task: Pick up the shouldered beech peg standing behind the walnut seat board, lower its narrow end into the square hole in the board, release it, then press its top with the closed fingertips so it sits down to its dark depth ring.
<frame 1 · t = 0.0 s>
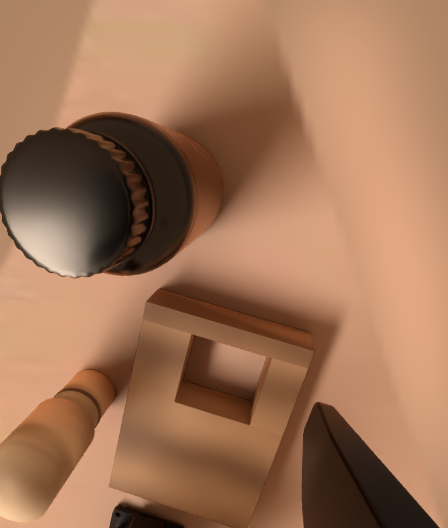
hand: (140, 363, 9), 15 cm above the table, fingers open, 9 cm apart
peg: (93, 389, 27), on the table
board: (206, 403, 26), on the table
supplement bottle: (172, 188, 22), on the table
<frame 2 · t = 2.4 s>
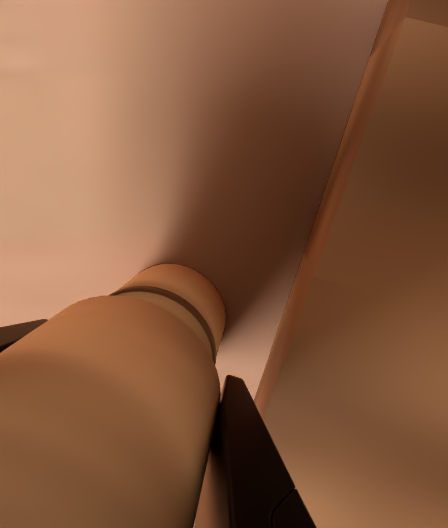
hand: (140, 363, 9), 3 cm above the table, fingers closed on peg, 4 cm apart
peg: (172, 314, 12), on the table, touching gripper
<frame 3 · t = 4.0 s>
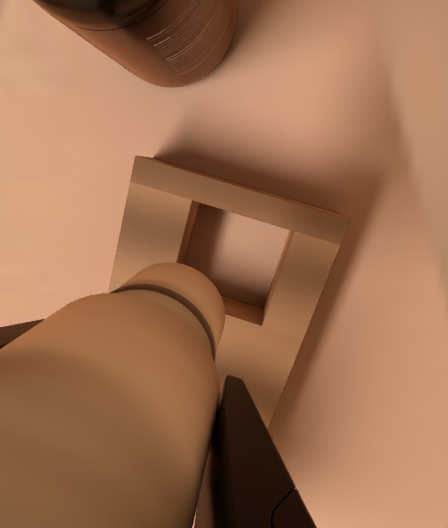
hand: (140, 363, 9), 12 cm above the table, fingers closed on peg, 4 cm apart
peg: (172, 313, 12), point 9 cm above the table, touching gripper
board: (207, 311, 21), on the table
supplement bottle: (173, 19, 18), on the table
when the fingers open (4 cm above the table, at t = 5.7 s): peg drops 1 cm, resting in board.
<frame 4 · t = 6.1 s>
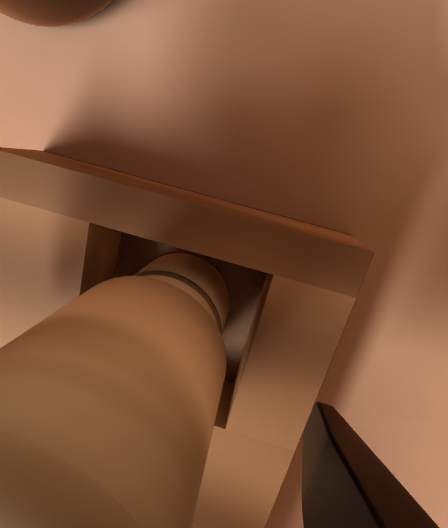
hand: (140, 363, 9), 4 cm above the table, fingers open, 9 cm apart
peg: (181, 300, 13), resting in board
board: (149, 386, 14), on the table
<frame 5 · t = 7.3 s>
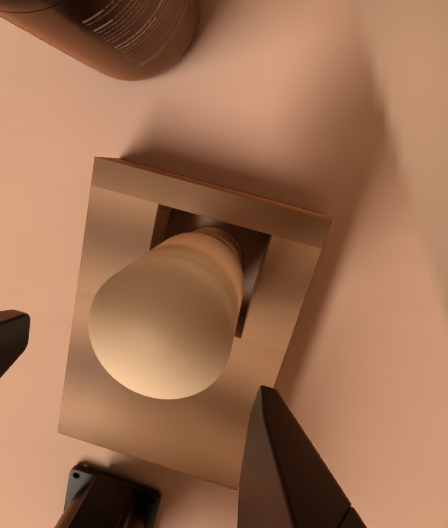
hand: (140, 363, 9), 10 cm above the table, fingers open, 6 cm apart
peg: (209, 259, 19), resting in board
board: (185, 321, 20), on the table
supplement bottle: (133, 5, 16), on the table
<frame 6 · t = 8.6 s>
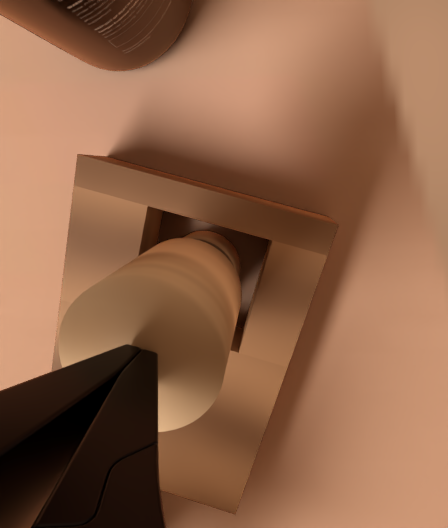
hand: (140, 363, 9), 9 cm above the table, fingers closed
peg: (204, 265, 17), resting in board
board: (179, 332, 18), on the table
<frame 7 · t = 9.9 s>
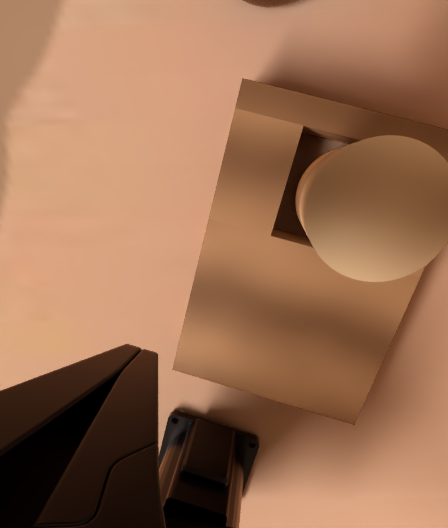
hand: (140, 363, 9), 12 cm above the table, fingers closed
peg: (331, 193, 19), resting in board
board: (300, 259, 20), on the table
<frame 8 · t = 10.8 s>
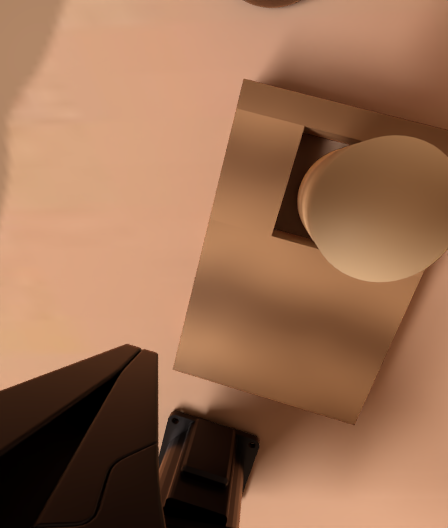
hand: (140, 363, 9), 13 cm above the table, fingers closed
peg: (332, 193, 19), resting in board
board: (301, 259, 20), on the table
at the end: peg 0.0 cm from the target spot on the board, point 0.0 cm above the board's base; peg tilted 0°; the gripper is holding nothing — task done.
